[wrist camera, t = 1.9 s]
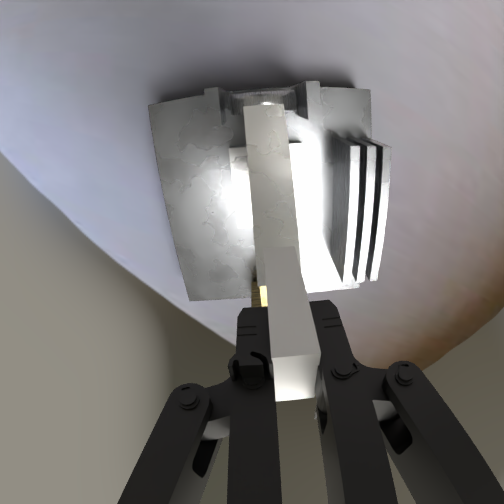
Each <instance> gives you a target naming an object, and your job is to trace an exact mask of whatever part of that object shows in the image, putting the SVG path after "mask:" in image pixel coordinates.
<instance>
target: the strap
mask: <svg viewBox="0 0 504 504" xmlns="http://www.w3.org/2000/svg"><path fill="white" fill-rule="evenodd" d="M229 105H230V112H231V116H232V115H242V114H244V122H245V134H246V146H247V158H248V170H249V183H250V195H251V207H252V220H253V232H254V245H255V257H256V270H257V282H258V286H266V277H265V264H264V251H263V249H264V248H277V247H289V246H294V247H295V250H296V254H297V258H298V262H299V265H300V269H301V259H300V246H299V234H298V223H297V212H296V202H295V192H294V183H293V174H292V165H291V156H290V148H289V140H288V133H287V125H286V118H285V111H296V109H297V100H296V93H295V90H281V91H262V92H249V93H239V94H229Z"/></svg>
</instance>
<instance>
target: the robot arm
mask: <svg viewBox="0 0 504 504" xmlns="http://www.w3.org/2000/svg"><path fill="white" fill-rule="evenodd" d="M263 251H264V264H265V277H266V291H267V304H268V306H264V307H250V308H243V309H242V311H241V312H240V314H239V316H238V320H237V340H236V354H234V356H233V357H232V358H231V359H230V361H229V364H228V369H229V373H230V377H229V378H228V379H227V380H226V381H224V382H223V383H220V384H218V385H215V386H211V387H207V388H204V387H203V386H200V385H198V384H193V383H187V384H183V385H180V386H179V387H177V388H176V389H174V390H173V392H172V393H171V394H170V396H169V398H168V400H167V402H166V404H165V406H164V408H163V410H162V412H161V414H160V416H159V419H158V421H157V423H156V424H155V427H154V429H153V431H152V433H151V435H150V437H149V439H148V441H147V443H146V445H145V447H144V449H143V451H142V453H141V456H140V458H139V459H138V462H137V464H136V466H135V468H134V470H133V472H132V474H131V476H130V478H129V480H128V482H127V484H126V486H125V489H124V491H123V493H122V495H121V497H120V499H119V501H118V503H117V504H199V503H200V500H201V498H202V495H203V492H204V490H205V487H206V484H207V481H208V479H209V476H210V473H211V470H212V467H213V465H214V462H215V459H216V456H217V453H218V450H219V448H220V445H221V442H222V439H223V437H226V436H229V459H228V489H227V504H282V495H281V477H280V461H279V445H278V429H277V413H276V401H284V400H295V399H305V398H313V397H315V393H316V399H317V405H316V410H315V417H314V419H317V420H318V427H319V433H320V440H321V447H322V455H323V463H324V470H325V478H326V486H327V495H328V503H329V504H398V502H397V497H396V492H395V487H394V482H393V478H392V473H391V469H390V465H389V460H388V456H387V452H388V453H389V455H390V457H391V459H392V460H393V462H394V464H395V466H396V468H397V469H398V471H399V473H400V475H401V476H402V478H403V480H404V482H405V483H406V485H407V487H408V489H409V491H410V493H411V495H412V496H413V498H414V500H415V501H416V504H504V491H503V489H502V487H501V486H500V484H499V482H498V481H497V479H496V477H495V476H494V474H493V473H492V471H491V469H490V468H489V466H488V465H487V463H486V461H485V460H484V458H483V457H482V455H481V454H480V452H479V451H478V449H477V448H476V446H475V445H474V443H473V442H472V440H471V438H470V437H469V436H468V434H467V433H466V431H465V430H464V428H463V427H462V425H461V424H460V423H459V421H458V420H457V418H456V417H455V416H454V414H453V413H452V411H451V410H450V408H449V407H448V406H447V404H446V403H445V402H444V401H443V399H442V397H441V396H440V395H439V393H438V392H437V391H436V389H435V388H434V387H433V385H432V384H431V383H430V381H429V380H428V379H427V378H426V377H425V375H424V374H423V372H422V371H421V370H420V368H418V367H417V366H416V365H415V364H413V363H411V362H409V361H399V362H395V363H393V364H392V365H391V366H389V368H388V369H378V368H370V367H366V366H364V365H362V364H361V363H359V361H357V360H356V359H355V358H354V356H353V354H352V351H351V348H350V345H349V342H348V339H347V336H346V333H345V330H344V327H343V324H342V321H341V319H340V315H339V312H338V309H337V307H336V306H335V305H334V304H333V303H332V302H331V301H330V300H322V301H312V302H309V300H308V296H307V292H306V288H305V285H304V281H303V277H302V273H301V269H300V265H299V262H298V258H297V254H296V250H295V247H294V246H289V247H277V248H264V249H263ZM386 450H387V452H386Z"/></svg>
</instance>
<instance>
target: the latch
mask: <svg viewBox="0 0 504 504" xmlns="http://www.w3.org/2000/svg"><path fill="white" fill-rule="evenodd" d="M251 301H252V307H264V306H268V304H267V291H266V286H258V282H257V281H255V282H251Z"/></svg>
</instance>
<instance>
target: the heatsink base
mask: <svg viewBox="0 0 504 504" xmlns="http://www.w3.org/2000/svg"><path fill="white" fill-rule="evenodd" d="M281 90H295V93H296V100H297V109H296V111H285V118H286V125H287V133H288V140H289V148H290V156H291V165H292V174H293V183H294V192H295V202H296V212H297V223H298V234H299V246H300V259H301V273H302V277H303V281H304V285H305V288H306V292H307V293H312V292H322V291H331V290H341V289H350V288H358V287H359V284H360V282H364V277H365V274H366V275H367V277H368V279H369V281H376V280H377V276H378V271H379V265H380V259H381V253H382V246H383V239H384V232H385V224H386V216H387V207H388V196H389V185H390V170H391V147H390V146H387V145H385V144H383V143H380V142H378V141H375V140H373V139H371V95H370V90H369V89H357V88H339V87H320V82H319V81H304V82H301V83H299V84H296V85H293V86H291V87H279V88H262V89H249V90H238V91H229V92H227V91H226V90H223V89H221V88H219V87H213V88H206V89H204V95H199V96H193V97H187V98H182V99H177V100H171V101H167V102H162V103H157V104H153V105H148V108H149V115H150V122H151V129H152V135H153V141H154V147H155V153H156V158H157V164H158V169H159V175H160V180H161V185H162V190H163V195H164V199H165V204H166V209H167V213H168V218H169V222H170V227H171V231H172V235H173V239H174V244H175V248H176V252H177V256H178V260H179V264H180V268H181V271H182V275H183V279H184V283H185V286H186V290H187V294H188V297H189V301H203V300H221V299H237V298H251V282H255V281H257V270H256V257H255V245H254V232H253V220H252V207H251V195H250V183H249V170H248V158H247V146H246V134H245V122H244V114H242V115H232V116H231V112H230V105H229V94H239V93H249V92H262V91H281Z"/></svg>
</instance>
